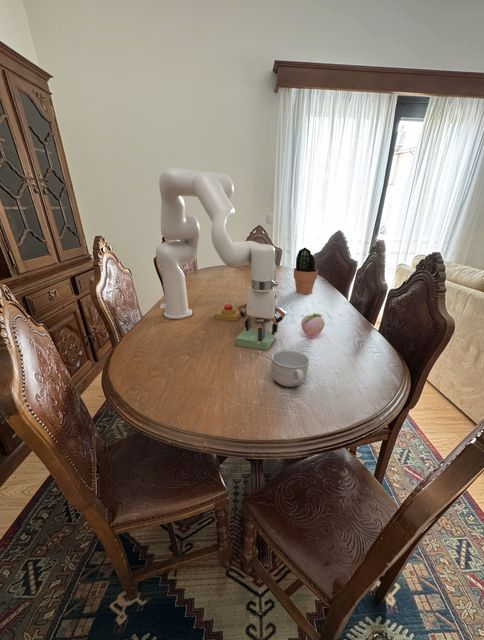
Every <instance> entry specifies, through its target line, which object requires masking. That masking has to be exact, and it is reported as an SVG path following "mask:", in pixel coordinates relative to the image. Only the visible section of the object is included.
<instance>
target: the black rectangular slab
mask: <svg viewBox="0 0 484 640" xmlns="http://www.w3.org/2000/svg"><path fill="white" fill-rule="evenodd" d="M257 330H258V341H261V342H262V340H263V339H264V338H265V331H266V323H260V325H259V326H258V328H257Z"/></svg>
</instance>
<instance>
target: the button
mask: <svg viewBox="0 0 484 640" xmlns="http://www.w3.org/2000/svg"><path fill="white" fill-rule="evenodd" d="M232 306H233V304H228V303H227V304H224V305H223V307H224V309H225V310H232Z"/></svg>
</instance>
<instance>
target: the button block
mask: <svg viewBox="0 0 484 640" xmlns="http://www.w3.org/2000/svg"><path fill="white" fill-rule="evenodd" d="M241 317H242V316H241V315H240V312H239V310H238V309H237V308H236V306H233V305H232V310H225V309H224V306H222V307H221V308H220V309H219V310H217V312H215V313H214V319H218V320H224V321H232V322H236V321H238V320H239V319H240V318H241Z"/></svg>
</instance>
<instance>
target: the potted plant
mask: <svg viewBox="0 0 484 640" xmlns="http://www.w3.org/2000/svg"><path fill="white" fill-rule="evenodd" d="M315 267H316V260H315V256H314V255H313V254H312V251H311V250H310V249H308V248H306V247H303V248H301V249H300V250H298V252H297V255H296V258H295V267H294V268H293V279H294V284H295V292H296V293H297V294H299V295H310V294H312V292H313V289H314V286H315V282H316V280H317V279H318V273H319V270H318V269H317V268H315Z"/></svg>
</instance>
